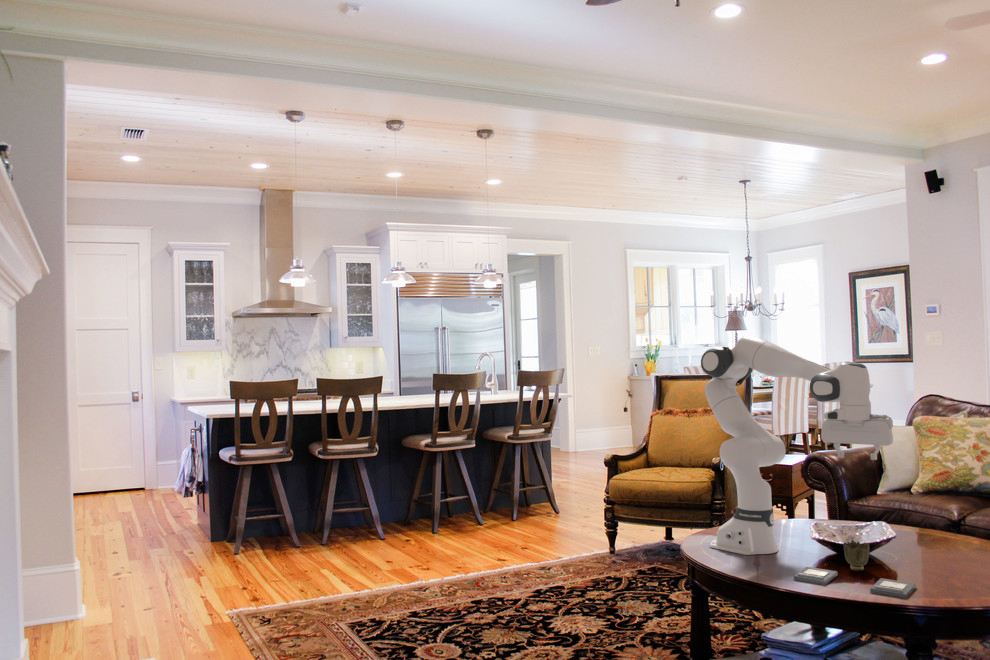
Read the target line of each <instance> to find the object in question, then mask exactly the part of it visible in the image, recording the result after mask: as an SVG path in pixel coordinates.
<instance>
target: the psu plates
mask: <svg viewBox="0 0 990 660" xmlns="http://www.w3.org/2000/svg"><path fill="white" fill-rule="evenodd" d="M837 576H838V571H837V570H830V569H825V568H824V569H823V568H817V567H811V566H805V567H804V568H802V569H801V570H800V571H799V572H797V573H795V574H794V575H793V581H798V582H805V583H810V584H816V585H822V586H827V584H829V583H830V582H832V580H834V579H835V578H837ZM916 585H917V583H915V582H914V583H913V582H909V581H902V580H895V579H889V578H882V577H881V578H879V579H878V580H877V581H876V583H874V584H873V585H872V586H871V587H870V588H869V590H870V591H869V593H870V594H876V595H881V596H882V595H883V596H888V597H893V598H900V599H905V600H906V599H907V598H909V596H910V595H911V594H912V593H913V592H914V591H915V589H916V587H917V586H916Z"/></svg>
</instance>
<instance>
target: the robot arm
mask: <svg viewBox="0 0 990 660" xmlns="http://www.w3.org/2000/svg"><path fill="white" fill-rule="evenodd" d="M700 366H701V369H702V371H703V372H704V373H705V374H706V375H708V376H710V377H712V378H711V379H710V380H708V382H706V384H705V386H704V388H703V389H704V394H705V397H706V401H707V403H708V405H709V408H710V409H711V412H712V413H713V415H714V417H715V419H716V421H717V422H718V424H719V427H720V429H722V431H723V432H724V433H726V434H728V435H730V436H732V437H733V438H729V439H727V440H725V441H723V442H722V443H721V445H720V446H719V447H720V448H719V457H720V461H721V462H722V464H723V465H724V466H725V467H726V468H727V469H728V470H730V472H731V474H732V475H733V479H734V481H735V486H736V492H737V494H736V495H737V505H736V506H735V507H733V509H731V513H730V514H733V515H732V518H730V519H729V520H727V521H726V522H725V523H724V524H722V525H721V526H720V527H718V529H717V532H716V539H713V540H712V541H710V543H709V547H710V548H711V549H717V550H722V551H726V552H731V553H736V554H740V555H745V556H751V555H769V554H774V553H777V552H779V548H778V545H777V541H776V537H775V531H774V523H775V516H774V508H773V506H772V505H773V504H772V486H771V484H770V483H769V482H768V481H766V480H765V479H763V477H762V475H761V471H760V468H761V467H764V468H765V467H771V466H773V465H776V464H779V463H780V462H782V461H783V460H784V459H785V457H786V445H785V443H784V441H783V440H782V438H780V437H779V436H776V435H775V434H773V433H771V432H769V431H768V430H767V429H766V428H765V427H763V426H762V425H761V424H760V423H759V422H758V421H757V420H756V418H754V417H753V415H752V414H751V413H750V411H749V409H748V408H747V406H746V404H745V403H744V401H743V399H742V398H741V395H739V393H738V391H737V389H736V387H738V386H741V385H742V384H743V383H744V381H745V380H747V379H748V378H749V377H750V376H751V375H752V373H753V372H754V371H756V372H758V373H760V374H762V375H765V376H769V377H773V378H798V379H803V380H806V381H808V382H809V387H808V389H809V392H810V395H811V397H812V398H813V399H814V400H816V401H817V402H820V403H838V404H839V408H835V409H833V410H830V411H826V412H824V414H823V418H824V419H825V420H824V421H823V422H822V424H821V433H820V435H821V436H820V437H821V440H822V441H823V443H828V444H830V443H831V444H833V448H834V450H835V451H836V452H837V457H838V458H840V459H844V458H845V451H842V450H841V448H840V446H841V444H848V445H849V444H850V445H865V446H866V445H867V446H868V445H869V446H873V449H875V450H874V452H873V453H870V454H869V455H870V460H872V461H876V460H878V454H879V452H880V450H881V447H882V446H887V447H888V446H890V445H893V443H894V436H893V431H892V430H893V426H894V425H893V419H892V417H890V416H889V415H887V414H872V405H871V403H872V402H871V400H870V393H871V382H870V381H871V379H870V375H869V370H868V367H867V366H866V365H864V364H863V363H860V362H855V361H842V362H840V363H839V364H838V365H837V366H836V367H833V368H832V369H831V368H829V367H826V366H824V365H821V364H818V363H816V362H814V361H810V360H808V359H806V358H803V357H801V356H799V355H797V354H795V353H793V352H791V351H788V350H787V349H785V348H783V347H781V346H779V345H777V344H775V343H773V342H771V341H768V340H765V339H763V338H759V337H756V336H751V335H745V336H742V337H741V338H739V339H738V340H737V342H736V343H735V345H734V346H733V347H732V348H730V347H729V346H727V345H725V346H721V347H712V348H709V349H707V350H706V351H704V353H703V354H702V356H701V358H700ZM753 370H754V371H753Z"/></svg>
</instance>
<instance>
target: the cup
mask: <svg viewBox="0 0 990 660" xmlns="http://www.w3.org/2000/svg"><path fill="white" fill-rule="evenodd" d="M870 549H871V548H870V544H869V543H866V542H864V543H863V544H861V543H860V541H857V542H856V541H854V540H851V542H850V541H847V542H846V541H844V542H843V551H844V558H845V560H846V562H847V563H848V564H849V565H850V569H851V570H852V571H853V572H854V571H855V572H862V571H863V570H864V569H865V568H864V566H865V565H867V563H868V562H869V557H870Z"/></svg>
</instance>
